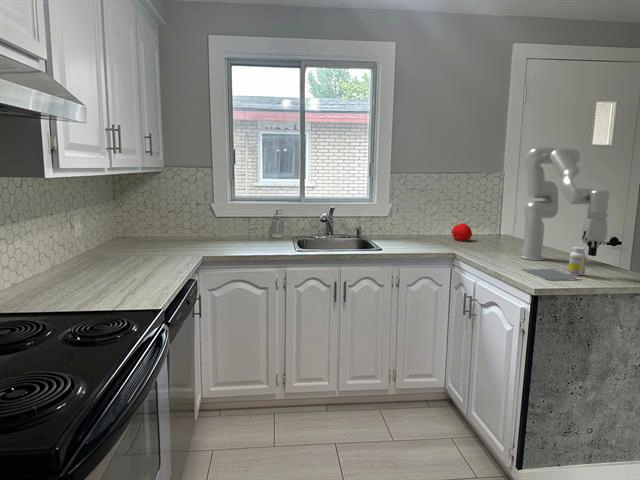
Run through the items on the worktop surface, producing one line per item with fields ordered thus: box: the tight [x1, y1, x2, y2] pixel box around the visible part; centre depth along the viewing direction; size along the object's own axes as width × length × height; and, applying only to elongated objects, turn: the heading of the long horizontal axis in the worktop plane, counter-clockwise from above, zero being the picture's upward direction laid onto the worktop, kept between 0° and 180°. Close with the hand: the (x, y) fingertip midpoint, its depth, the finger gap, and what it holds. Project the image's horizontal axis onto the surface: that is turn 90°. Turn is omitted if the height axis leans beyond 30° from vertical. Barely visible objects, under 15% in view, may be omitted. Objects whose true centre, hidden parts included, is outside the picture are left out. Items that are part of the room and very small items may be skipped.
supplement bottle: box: [567, 246, 587, 276], centre depth 206 cm, size 7×7×13 cm
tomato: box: [451, 223, 473, 242], centre depth 299 cm, size 13×13×13 cm
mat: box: [522, 268, 578, 281], centre depth 205 cm, size 20×16×1 cm
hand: (591, 255), depth 206 cm, fingers closed
